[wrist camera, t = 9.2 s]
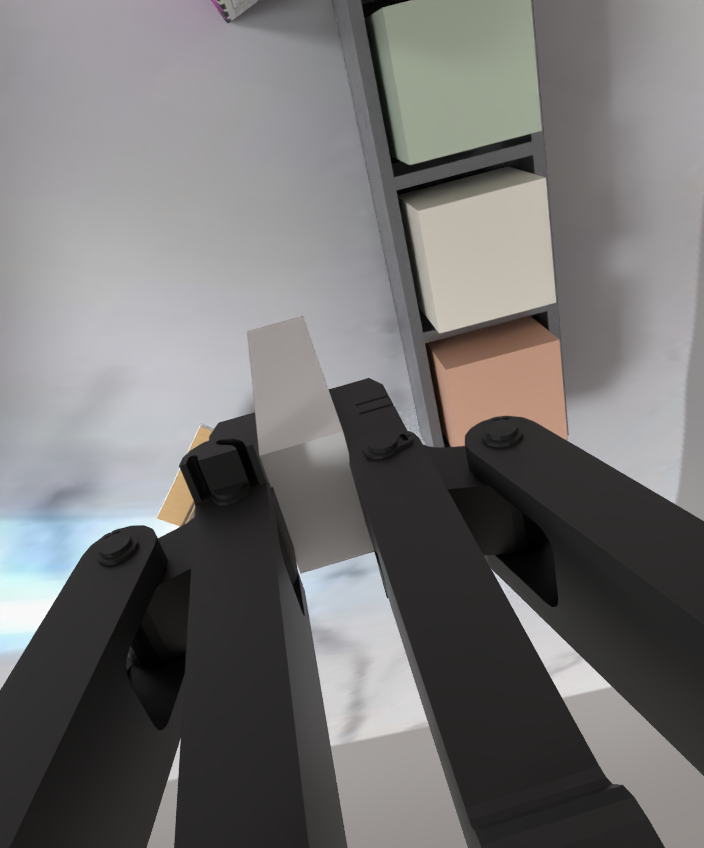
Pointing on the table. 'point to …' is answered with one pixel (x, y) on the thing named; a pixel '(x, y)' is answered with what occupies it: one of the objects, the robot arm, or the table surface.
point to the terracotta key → (498, 377)
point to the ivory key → (479, 247)
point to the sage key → (454, 75)
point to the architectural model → (182, 490)
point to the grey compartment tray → (384, 183)
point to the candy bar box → (232, 7)
